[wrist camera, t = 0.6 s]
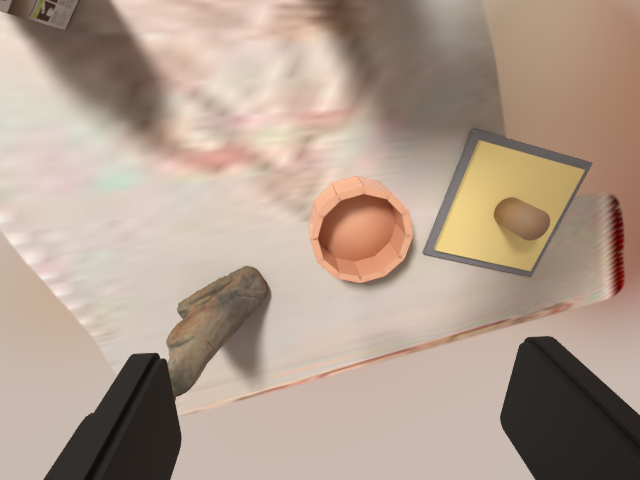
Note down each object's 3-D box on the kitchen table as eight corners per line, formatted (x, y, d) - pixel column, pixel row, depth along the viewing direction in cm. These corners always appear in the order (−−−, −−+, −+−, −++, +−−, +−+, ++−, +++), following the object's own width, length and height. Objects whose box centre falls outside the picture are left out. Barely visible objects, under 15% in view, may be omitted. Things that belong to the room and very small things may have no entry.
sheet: (478, 140, 40) (506, 146, 35) (581, 168, 42) (621, 179, 37) (433, 248, 45) (452, 268, 40) (527, 269, 47) (556, 290, 42)
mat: (472, 128, 40) (474, 128, 39) (589, 162, 42) (592, 162, 42) (422, 252, 45) (424, 254, 45) (528, 275, 48) (530, 276, 47)
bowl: (322, 167, 40) (326, 176, 36) (411, 189, 42) (426, 201, 37) (300, 253, 44) (301, 271, 40) (382, 269, 46) (392, 289, 41)
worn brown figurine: (203, 316, 50) (128, 438, 34) (181, 286, 47) (91, 402, 32) (275, 294, 46) (228, 419, 31) (255, 261, 44) (195, 378, 28)
